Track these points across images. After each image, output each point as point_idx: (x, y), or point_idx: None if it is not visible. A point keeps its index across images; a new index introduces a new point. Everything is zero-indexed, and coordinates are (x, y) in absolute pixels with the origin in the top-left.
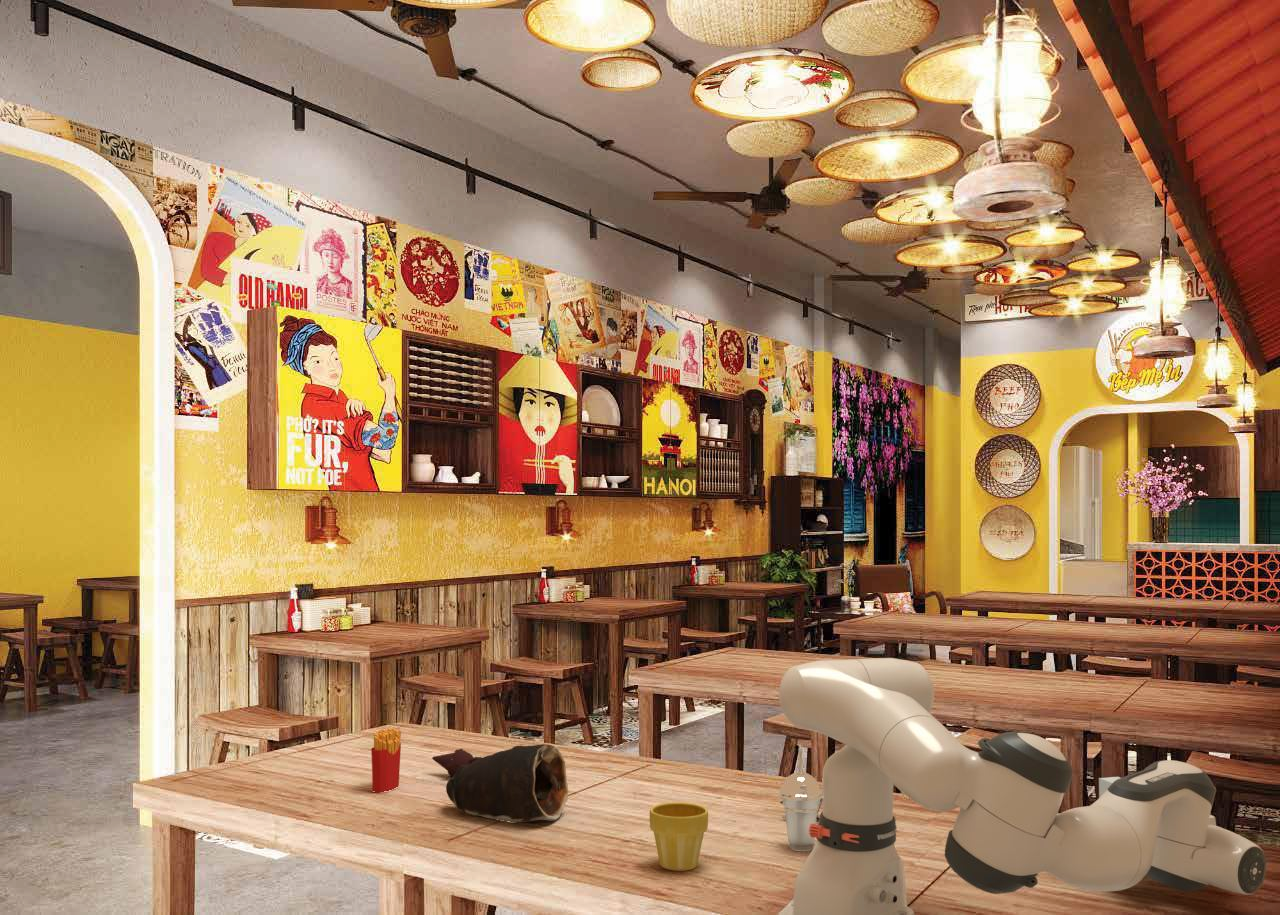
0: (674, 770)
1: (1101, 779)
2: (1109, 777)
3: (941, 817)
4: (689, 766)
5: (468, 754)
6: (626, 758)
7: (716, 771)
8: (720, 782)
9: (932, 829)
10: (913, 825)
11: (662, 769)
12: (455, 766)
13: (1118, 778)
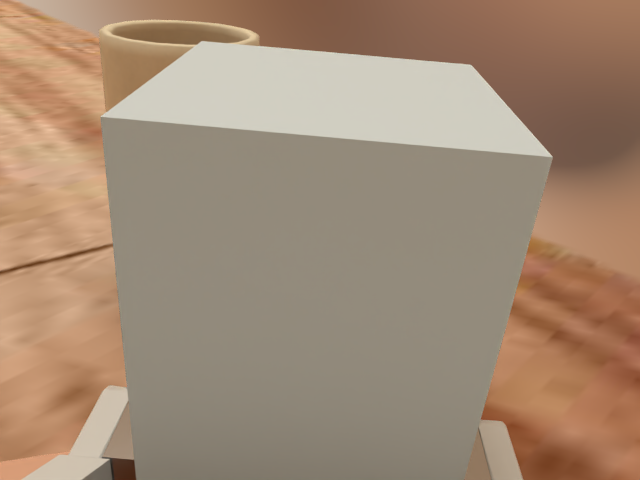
0: (22, 24)
1: (189, 53)
2: (348, 55)
3: None
4: (59, 24)
5: None
6: (20, 9)
7: (71, 33)
8: (21, 42)
9: (86, 185)
10: (75, 165)
11: (12, 21)
12: None
13: (426, 76)
